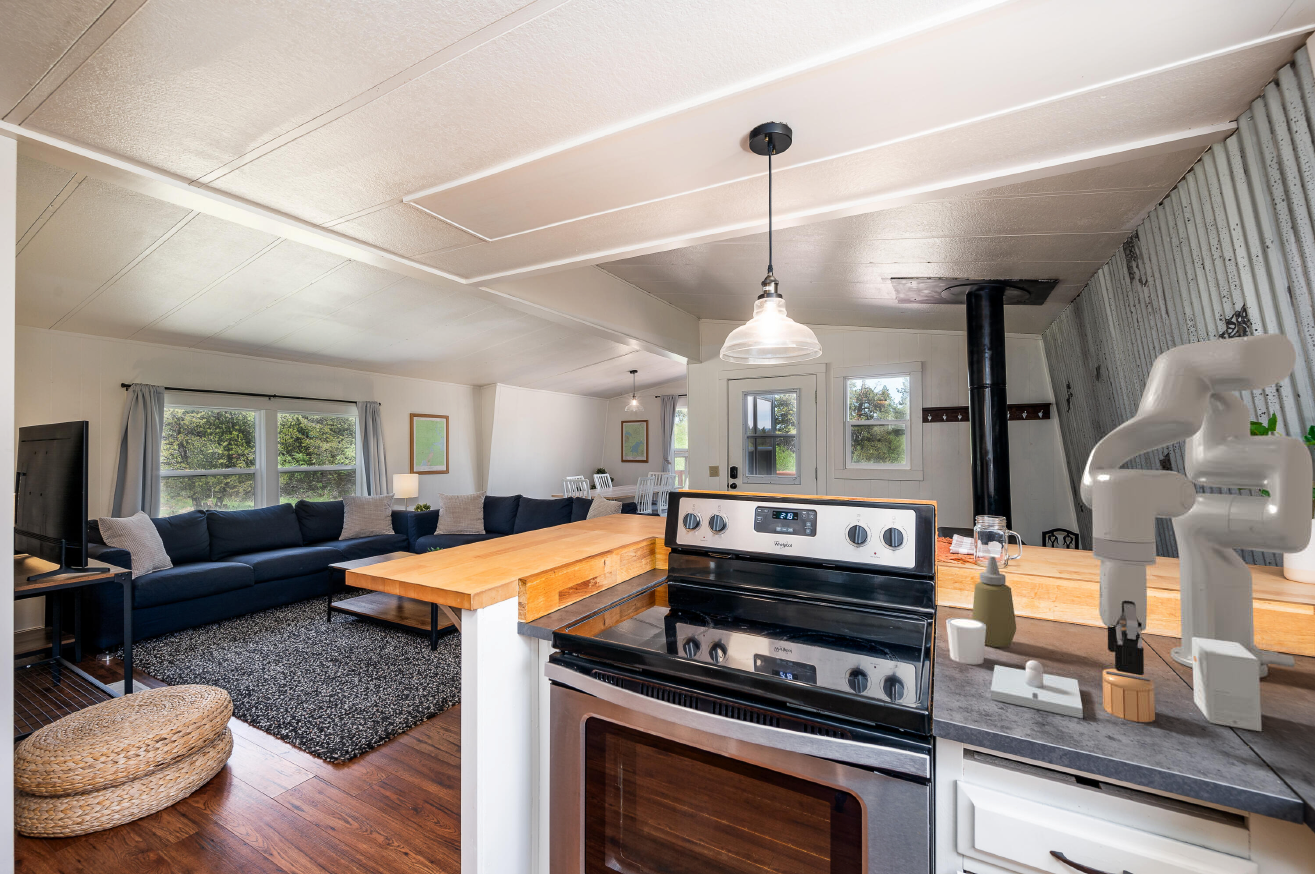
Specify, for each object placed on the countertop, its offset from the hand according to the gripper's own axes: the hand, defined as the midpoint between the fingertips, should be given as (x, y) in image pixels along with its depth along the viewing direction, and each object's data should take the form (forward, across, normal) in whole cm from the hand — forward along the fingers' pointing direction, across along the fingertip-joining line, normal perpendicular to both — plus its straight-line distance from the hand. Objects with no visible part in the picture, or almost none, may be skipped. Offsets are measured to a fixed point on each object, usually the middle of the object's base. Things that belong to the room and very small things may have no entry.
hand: (1124, 662), depth 86 cm
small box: (+8, -7, +12) cm, 16 cm away
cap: (+8, -1, 0) cm, 8 cm away
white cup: (+8, -12, -22) cm, 27 cm away
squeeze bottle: (+8, -24, -18) cm, 31 cm away
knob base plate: (+8, -1, -12) cm, 14 cm away
